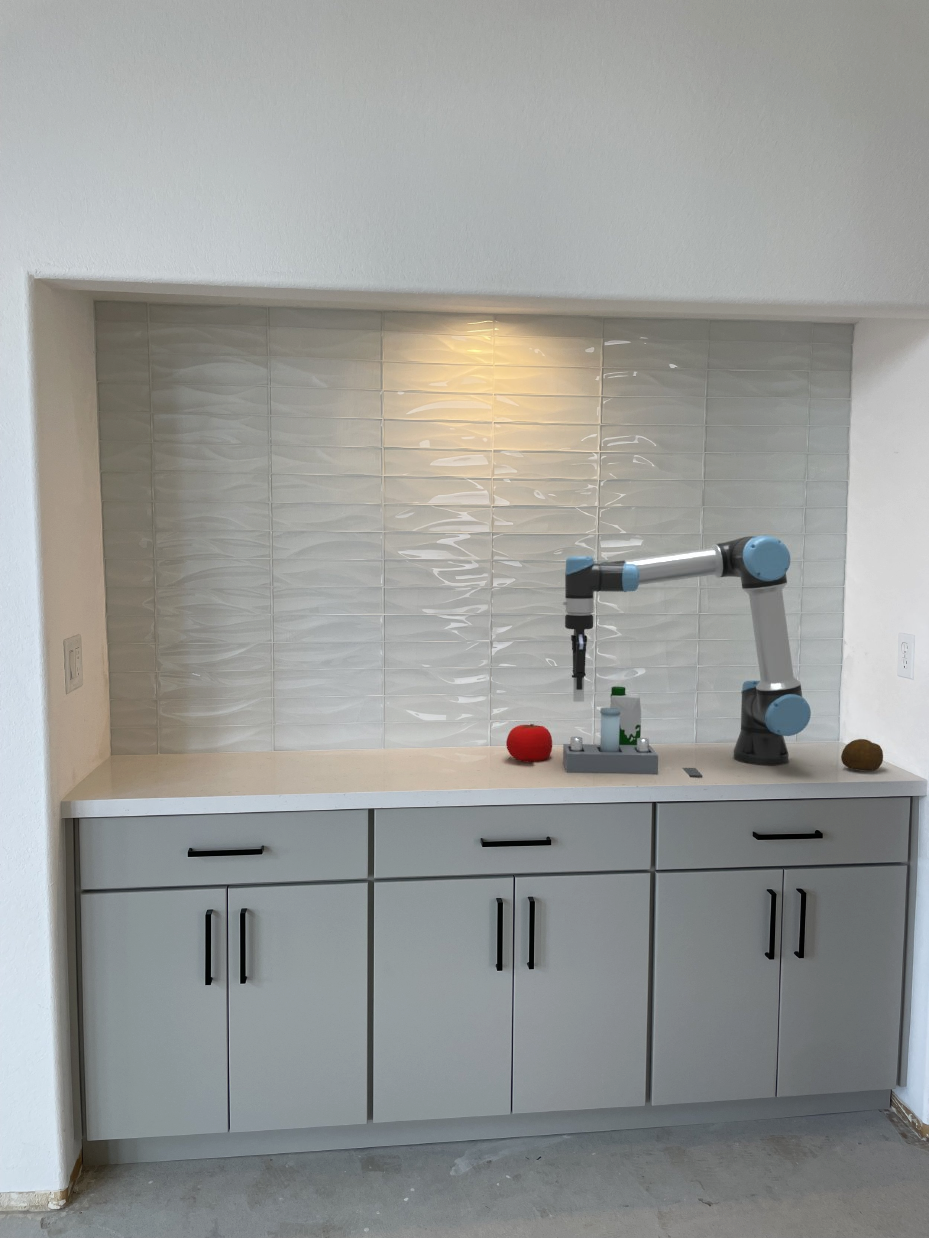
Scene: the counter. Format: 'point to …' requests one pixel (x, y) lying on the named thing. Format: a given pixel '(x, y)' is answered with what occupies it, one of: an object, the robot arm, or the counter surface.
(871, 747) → the potato
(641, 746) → the plunger
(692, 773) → the mat
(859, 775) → the counter surface
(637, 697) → the milk carton
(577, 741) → the plunger
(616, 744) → the cartridge
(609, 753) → the housing
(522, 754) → the tomato
